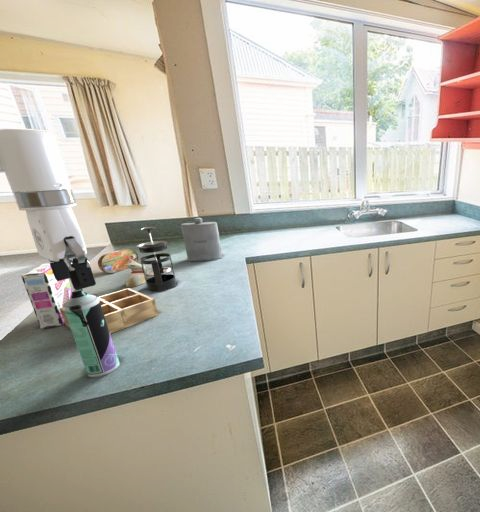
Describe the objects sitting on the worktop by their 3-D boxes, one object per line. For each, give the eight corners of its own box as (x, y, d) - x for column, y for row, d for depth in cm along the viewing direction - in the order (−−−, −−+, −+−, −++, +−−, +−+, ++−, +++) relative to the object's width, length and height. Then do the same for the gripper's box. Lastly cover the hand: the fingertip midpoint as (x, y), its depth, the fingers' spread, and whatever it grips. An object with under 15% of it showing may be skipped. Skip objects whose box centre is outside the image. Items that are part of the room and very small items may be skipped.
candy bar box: (64, 325, 86) (44, 272, 81) (40, 329, 83) (18, 275, 78) (80, 309, 95) (63, 261, 90) (58, 312, 93) (40, 263, 88)
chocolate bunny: (152, 281, 116) (146, 257, 113) (127, 288, 110) (120, 263, 107) (146, 278, 119) (140, 255, 116) (122, 285, 113) (115, 260, 110)
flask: (186, 262, 139) (177, 220, 133) (189, 258, 144) (181, 217, 138) (221, 259, 143) (214, 218, 137) (223, 255, 149) (217, 216, 142)
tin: (105, 276, 122) (99, 256, 119) (99, 275, 122) (93, 256, 120) (140, 264, 136) (136, 246, 133) (135, 263, 136) (130, 246, 134)
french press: (148, 284, 114) (133, 226, 107) (177, 279, 119) (165, 223, 112) (145, 295, 105) (128, 232, 98) (177, 289, 110) (163, 229, 102)
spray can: (121, 368, 68) (96, 289, 62) (89, 381, 64) (58, 298, 58) (117, 358, 72) (93, 282, 66) (86, 369, 68) (57, 290, 62)
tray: (89, 341, 78) (83, 323, 76) (65, 325, 86) (59, 308, 84) (158, 315, 92) (154, 298, 90) (133, 303, 99) (128, 287, 98)
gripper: (3, 199, 57) (35, 281, 62) (32, 205, 49) (66, 298, 54) (57, 195, 63) (83, 270, 69) (91, 200, 55) (117, 284, 61)
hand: (75, 282), depth 61 cm, fingers open, 9 cm apart
